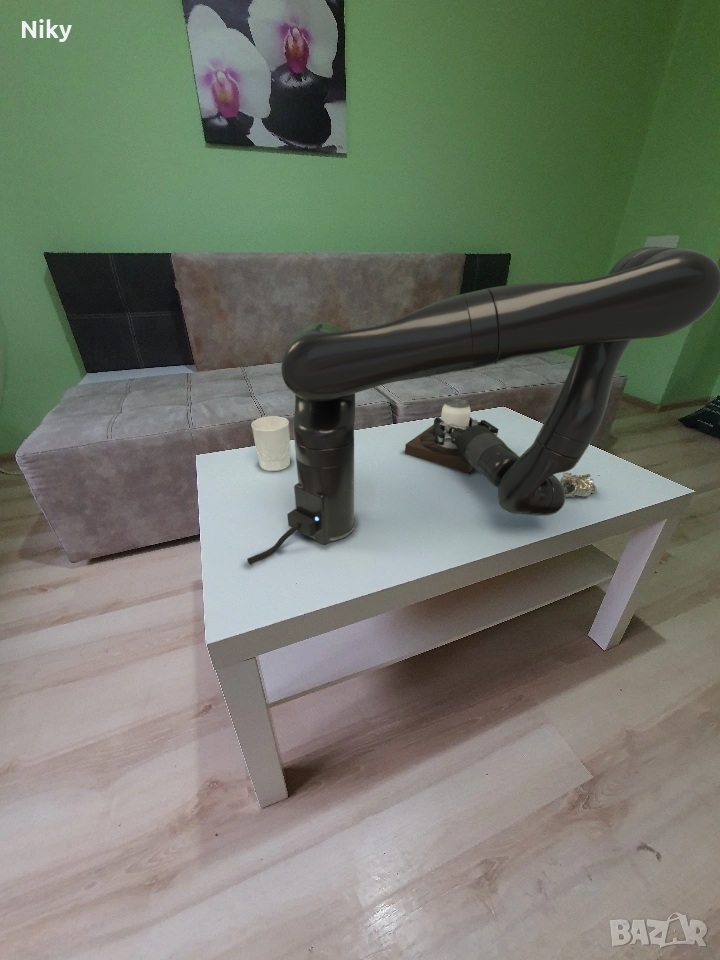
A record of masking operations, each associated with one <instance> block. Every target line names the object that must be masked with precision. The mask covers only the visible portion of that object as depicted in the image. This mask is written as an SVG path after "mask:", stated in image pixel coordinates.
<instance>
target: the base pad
mask: <svg viewBox="0 0 720 960" xmlns="http://www.w3.org/2000/svg"><path fill="white" fill-rule="evenodd" d="M432 433H433V424H432V425H431V426H429V427H428V428H426V429H425V430H424V431H422V432H421V433H419V434H418V435H417V436H415V437H414V438H413V439H410V441H408V442H406V443H405V445H404V447H405V448H404V449H405V450H404V454H405V455H409V456H412V457H415V458H418V459H421V460H425V461H427V462H431V463H433V464H436V465H440V466H443V467H446V468H450V469H453V470H455V471H459V472H462V473H465V474H470V472H471V471H472V470H473V469H475V468H474V467H473V466H472V465H471V464H470V463H469V462H468V461H467V460H466V459H465V458H464V457H463V456H462V455H461V454H460V452H459V451H458V449H451V448H445V447H442V446H440V445H438V443H437V442H436V440H435V439H434V437H433V436H432Z"/></svg>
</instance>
